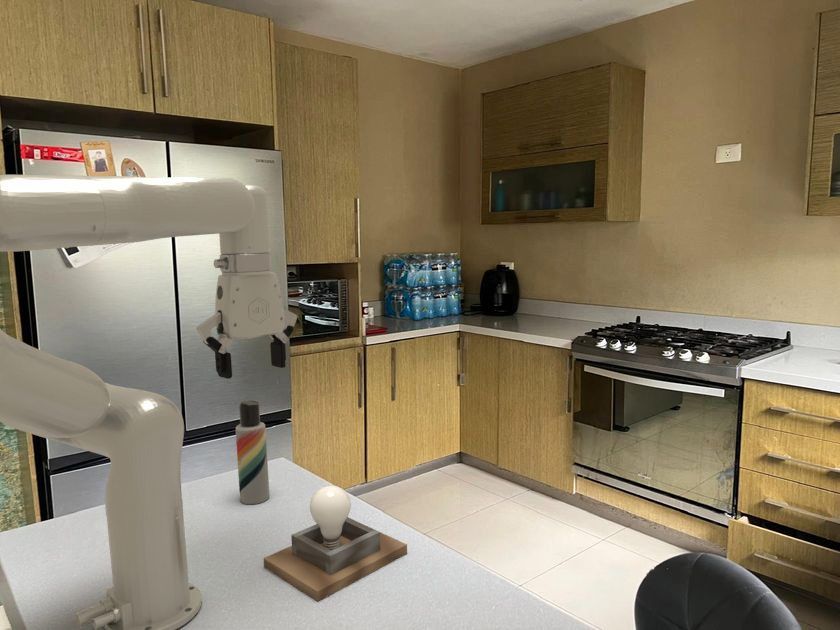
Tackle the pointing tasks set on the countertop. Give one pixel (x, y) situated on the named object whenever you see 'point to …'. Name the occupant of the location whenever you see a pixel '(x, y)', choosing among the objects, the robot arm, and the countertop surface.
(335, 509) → the lightbulb
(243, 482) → the lotion bottle
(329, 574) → the lamp socket
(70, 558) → the countertop surface
